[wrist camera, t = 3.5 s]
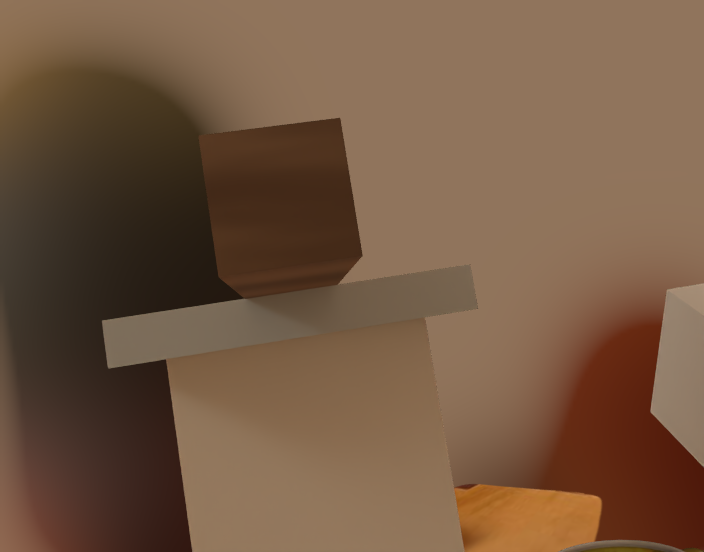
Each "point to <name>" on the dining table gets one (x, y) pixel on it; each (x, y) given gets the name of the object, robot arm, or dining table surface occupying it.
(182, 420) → the stand
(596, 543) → the ceramic cup
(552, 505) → the dining table surface
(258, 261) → the walnut block
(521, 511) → the dining table surface
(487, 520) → the dining table surface
